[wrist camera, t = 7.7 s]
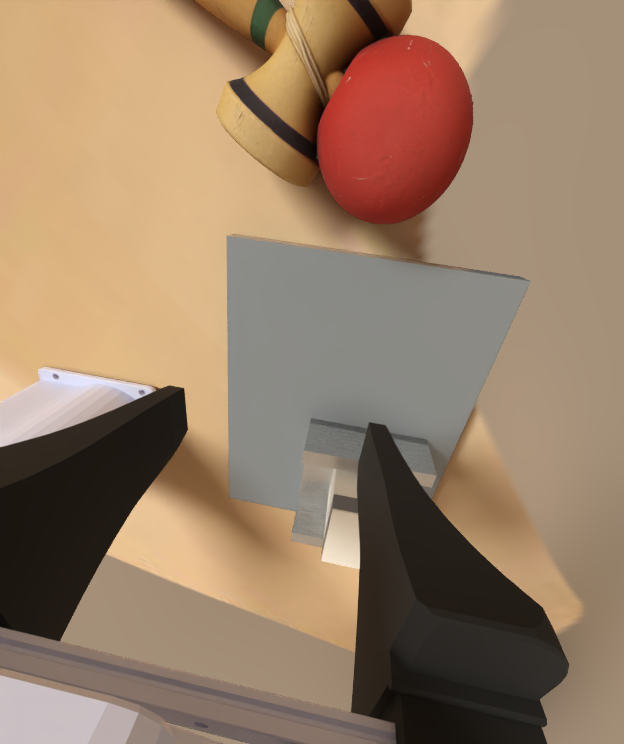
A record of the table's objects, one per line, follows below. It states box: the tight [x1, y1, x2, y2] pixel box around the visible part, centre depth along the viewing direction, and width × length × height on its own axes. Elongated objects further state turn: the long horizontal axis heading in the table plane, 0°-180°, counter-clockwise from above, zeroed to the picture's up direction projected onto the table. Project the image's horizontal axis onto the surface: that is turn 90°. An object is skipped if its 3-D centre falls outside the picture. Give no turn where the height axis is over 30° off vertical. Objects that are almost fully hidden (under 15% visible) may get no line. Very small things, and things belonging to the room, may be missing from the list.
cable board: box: [227, 234, 530, 511], centre depth 22 cm, size 16×21×1 cm
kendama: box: [195, 0, 473, 224], centre depth 12 cm, size 8×6×18 cm
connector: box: [321, 469, 360, 569], centre depth 21 cm, size 4×5×5 cm
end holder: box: [291, 418, 437, 547], centre depth 22 cm, size 8×9×3 cm
